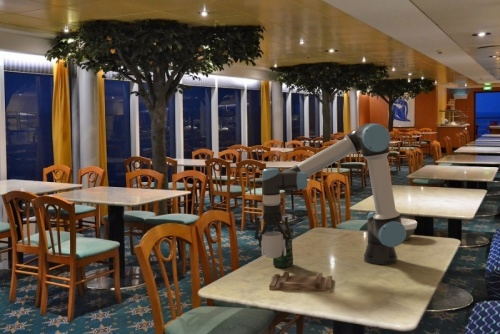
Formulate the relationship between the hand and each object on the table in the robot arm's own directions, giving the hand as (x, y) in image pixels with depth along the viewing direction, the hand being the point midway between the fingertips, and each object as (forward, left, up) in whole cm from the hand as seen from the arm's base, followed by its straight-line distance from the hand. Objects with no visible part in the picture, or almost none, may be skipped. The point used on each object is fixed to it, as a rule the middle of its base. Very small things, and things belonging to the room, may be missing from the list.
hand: (274, 254), depth 241 cm
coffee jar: (-3, -12, -8) cm, 14 cm away
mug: (-1, 0, 0) cm, 1 cm away
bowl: (-58, -72, -8) cm, 93 cm away
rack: (-14, +16, -8) cm, 22 cm away
